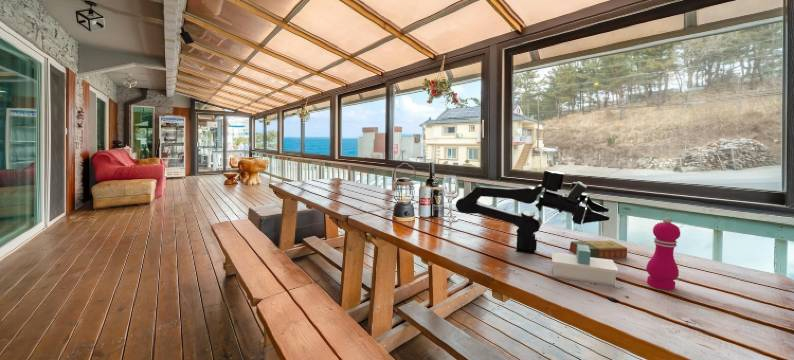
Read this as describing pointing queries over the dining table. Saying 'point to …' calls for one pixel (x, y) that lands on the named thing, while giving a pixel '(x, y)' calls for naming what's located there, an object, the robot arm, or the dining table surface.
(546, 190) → the robot arm
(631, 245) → the dining table surface
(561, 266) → the box base
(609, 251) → the carton
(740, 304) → the dining table surface
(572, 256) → the lid
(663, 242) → the pepper mill
